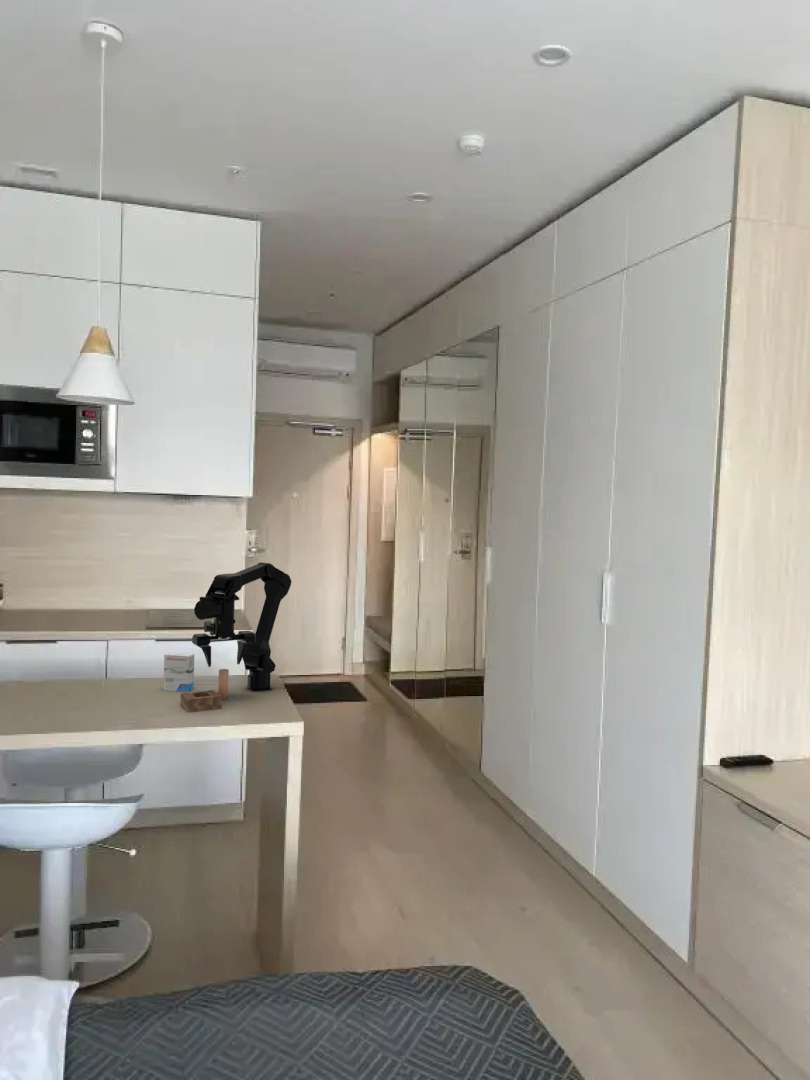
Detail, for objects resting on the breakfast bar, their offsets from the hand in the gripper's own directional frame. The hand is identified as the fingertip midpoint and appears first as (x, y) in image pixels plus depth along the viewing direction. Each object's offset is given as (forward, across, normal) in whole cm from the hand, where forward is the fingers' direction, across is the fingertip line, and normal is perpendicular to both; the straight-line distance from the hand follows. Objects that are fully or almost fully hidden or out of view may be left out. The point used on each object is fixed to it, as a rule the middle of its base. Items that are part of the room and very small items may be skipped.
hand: (223, 665), depth 259 cm
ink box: (+11, +9, -17) cm, 22 cm away
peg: (+10, 0, 0) cm, 10 cm away
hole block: (+11, +9, +7) cm, 15 cm away
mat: (+11, 0, 0) cm, 11 cm away
